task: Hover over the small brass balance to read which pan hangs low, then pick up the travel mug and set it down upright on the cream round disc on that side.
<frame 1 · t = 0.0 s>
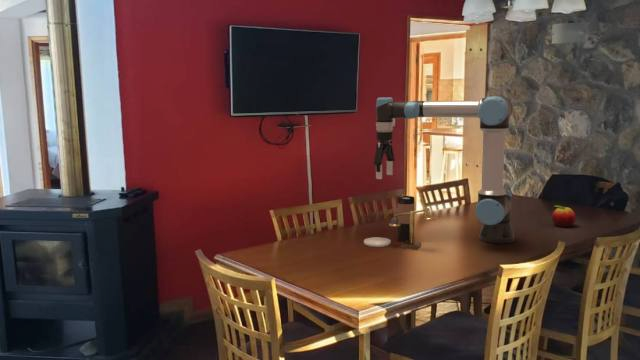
hand: (384, 176, 264), 28 cm above the table, fingers open, 13 cm apart
balance: (411, 247, 247), on the table
cream round disc: (377, 243, 255), on the table
fruit: (563, 226, 281), on the table
travel mug: (405, 240, 259), on the table
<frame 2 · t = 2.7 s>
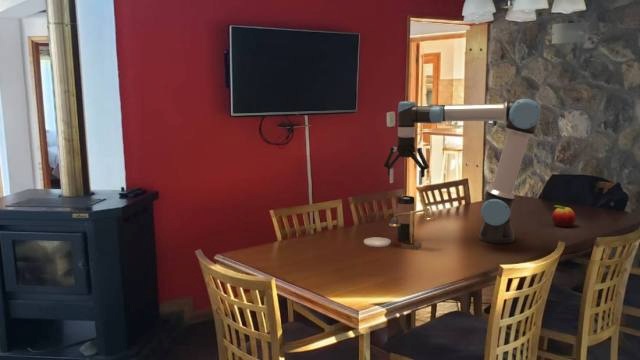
hand: (405, 183, 255), 26 cm above the table, fingers open, 13 cm apart
nothing on the table moved.
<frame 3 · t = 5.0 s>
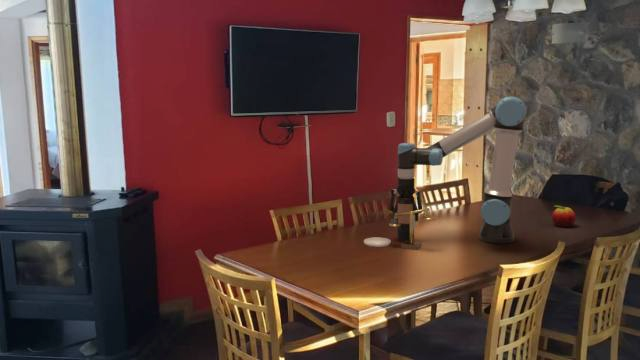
hand: (405, 227, 258), 6 cm above the table, fingers closed on travel mug, 8 cm apart
travel mug: (405, 240, 259), on the table, touching gripper
everything else where it was.
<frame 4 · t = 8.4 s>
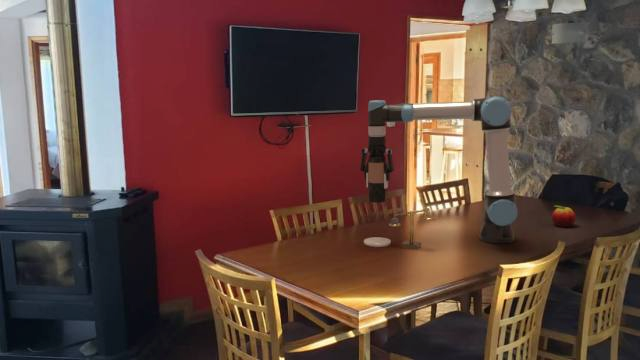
hand: (377, 187, 251), 26 cm above the table, fingers closed on travel mug, 8 cm apart
travel mug: (377, 201, 252), point 19 cm above the table, touching gripper
everything else where it was.
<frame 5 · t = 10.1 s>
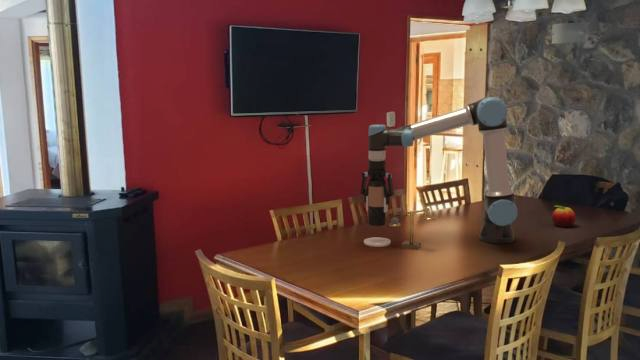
hand: (376, 210, 252), 15 cm above the table, fingers closed on travel mug, 8 cm apart
travel mug: (376, 224, 253), point 9 cm above the table, touching gripper
everything else where it was.
when the fingers open (9 cm above the table, at t = 11.7 s): travel mug drops 2 cm, resting on cream round disc.
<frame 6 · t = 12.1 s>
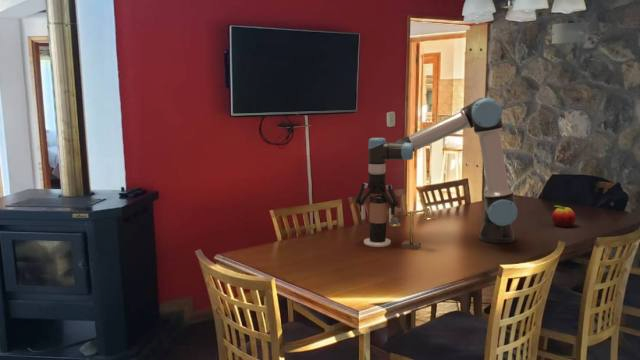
hand: (377, 220, 253), 11 cm above the table, fingers open, 12 cm apart
travel mug: (377, 240, 255), point 1 cm above the table, touching cream round disc
everything else where it was.
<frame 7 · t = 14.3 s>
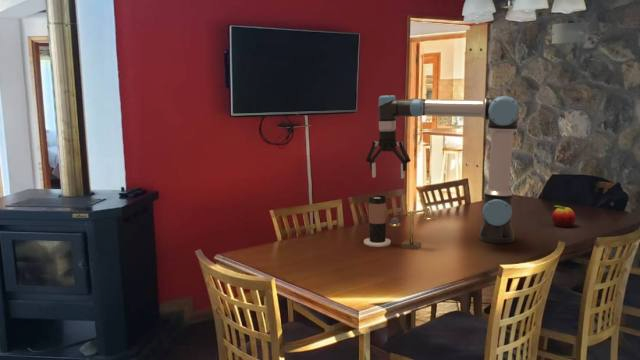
hand: (388, 177, 255), 29 cm above the table, fingers open, 13 cm apart
nothing on the table moved.
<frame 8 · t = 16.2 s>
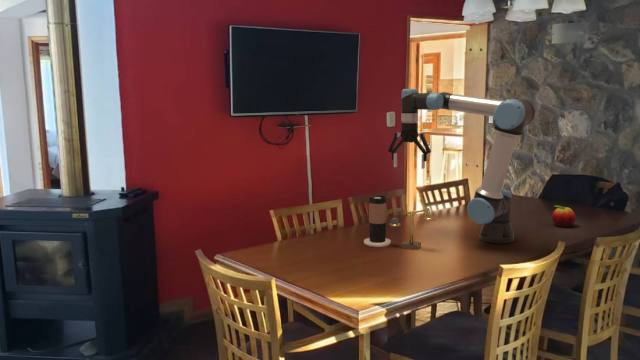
hand: (409, 167, 267), 32 cm above the table, fingers open, 13 cm apart
nothing on the table moved.
at the end: travel mug 0.1 cm from the cream round disc (horizontally); travel mug touching cream round disc; travel mug tilted 0° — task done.
